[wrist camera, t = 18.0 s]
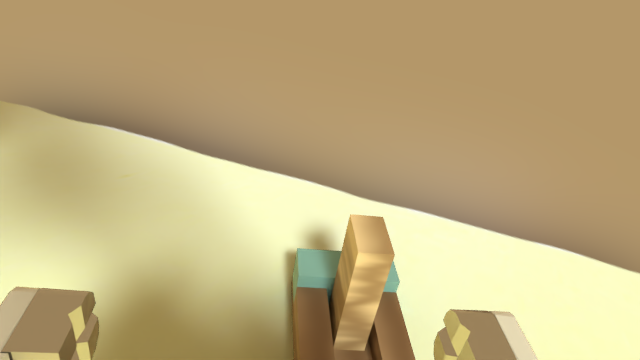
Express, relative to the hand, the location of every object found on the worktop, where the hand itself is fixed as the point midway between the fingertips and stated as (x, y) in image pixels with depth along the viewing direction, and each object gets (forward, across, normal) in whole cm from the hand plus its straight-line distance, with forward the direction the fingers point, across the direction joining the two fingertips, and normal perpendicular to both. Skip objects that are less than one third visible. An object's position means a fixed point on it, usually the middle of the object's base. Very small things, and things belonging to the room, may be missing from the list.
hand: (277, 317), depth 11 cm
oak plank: (+22, -9, +27) cm, 36 cm away
